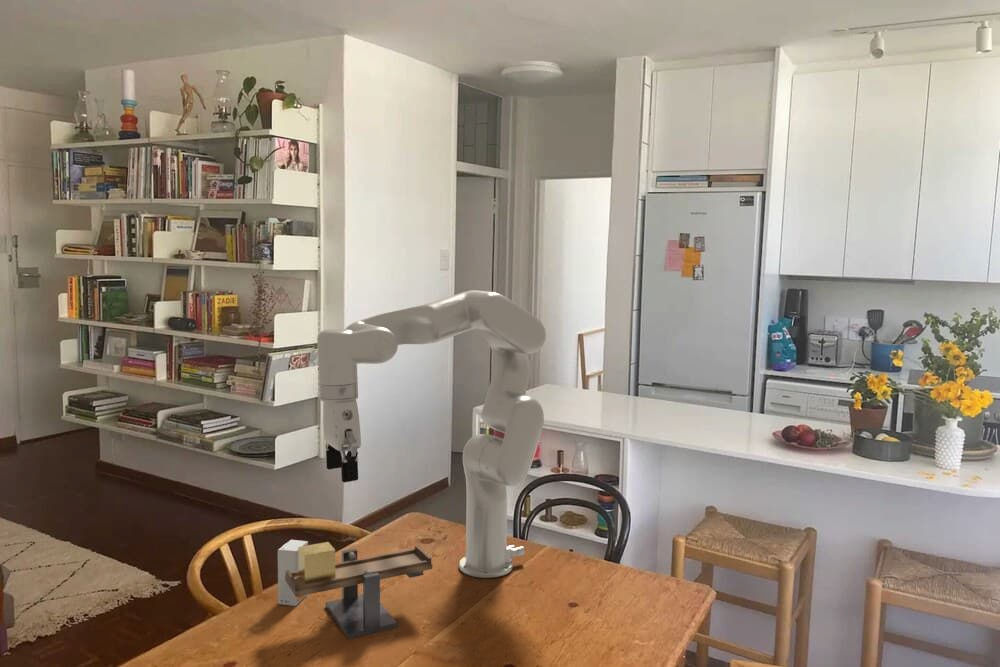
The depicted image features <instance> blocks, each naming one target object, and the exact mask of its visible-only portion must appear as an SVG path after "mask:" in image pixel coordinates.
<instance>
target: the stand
mask: <svg viewBox="0 0 1000 667" xmlns="http://www.w3.org/2000/svg"><path fill="white" fill-rule="evenodd" d="M350 552H353V553H354V554H355V555H356V559H355V560H358V549H357V548H352V549H351V548H350V549H346V550H341V563H342V562H347V561H353V560H351V559H350V558H349V556H348V555H349V553H350ZM358 585H359V584H357V585H352V586H347V587H342V588H341V595H342V598H341V599H335V600H330V601H326V602H325V608H326V610H327V611H328V612H329V614H330V615H331V617H332V619H334V621H335V623H336V624H337V625H338V627H339V628H340V630H341V631H342V633H343V634H344V635H345V637H346V639H348V640H350V639H354V638H358V637H364V636H366V635H371V634H374V633H380V632H383V631H387V630H392V629H397V628H398V622H397V620H396V619H395V618H394V617H393V616H392V615H391V613H390V612H389V611H388V610H387V609H386V608H385V606H384V605H383V604H382V603H381V580H380V574H379V573H373V574H368V575H363V583H362V594H359V591H358V590H359V589H358V588H359V587H358Z"/></svg>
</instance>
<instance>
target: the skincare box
mask: <svg viewBox="0 0 1000 667" xmlns="http://www.w3.org/2000/svg"><path fill="white" fill-rule="evenodd" d="M307 545H309V541H308V540H306V541H305V540H297V539H290V540H289V541H287V542H286V543H284V544H283V545H282V546H281V547H280V548H278V549H277V603H278V605H283V606H284V605H285V606H291V607H296V606H298V605H299V603H301V602H302V600H304V599H305V598H306V597H307V596H308V595H303V596H299V597H295V595H294V593H293V592H292V590H291V589H290V587H289V585H288V584H287V582H286V581H285V575H286V570H289V571H290V572H295V571H299V562H298V547H302V546H307Z"/></svg>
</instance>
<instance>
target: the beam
mask: <svg viewBox="0 0 1000 667" xmlns="http://www.w3.org/2000/svg"><path fill="white" fill-rule="evenodd" d="M348 556H349V558H350V559H351V560H353V561H347V562H342V561H341V562H338V563H335V576H336V578H335V579H330V580H325V581H320V582H315V583H310V584H305V585H304V583H303V582H302V580H301V579H300V578H299V571H295V572H290V571H289V570H286V575H285V581H286V582H287V584H288V585H289V587H290V589H291V590H292V592H293V593H294V595H295V597H299V596H303V595H307V596H308V595H312V594H317V593H323V592H327V591H332V590H336V589H342V587H347V586H352V585H357V584H358V585H361V584H362V585H363V575H368V574H373V573H379V574H380V581H381V580H385V579H390V578H395V577H399V576H404V575H406V576H407V577H408V578H410V579H412V578H417V577H421V576H424V571H429V570H432V569H433V563H432V556H430V555H429V554H428V553H427V552H426V551H424V549H422V548H421V547H420V546H419V545H418V544H417V545H415V546H414V548H412V549H411V548H410V549H406V550H401V551H400V550H399V551H395V552H390V553H385V554H379V555H374V556H370V557H365V558H359V559H358V558H357V560H355V559H356V555H355V554H354V553H353V552H350V553H349V555H348Z"/></svg>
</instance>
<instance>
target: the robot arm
mask: <svg viewBox="0 0 1000 667" xmlns="http://www.w3.org/2000/svg"><path fill="white" fill-rule="evenodd" d="M472 330H482V331H483V335H484V338H485V340H486V342H487V344H488V346H489V347H490V350H491V353H492V354H493V358H494V369H493V373H492V376H491V380H490V384H489V387H488V390H487V394H486V397H485V400H484V403H483V406H482V410H481V411H482V412H481V417H482V418H481V419H482V422H483V423H484V424H485V426H487V428H490V429H492V430H494V431H497V432H500V433H503V434H504V436H503V438H502V437H498V436H495V435H493V434H489V433H488V434H487V433H479V434H476V435H474V436H472V437H471V438H469V439H468V441H467V442H466V443H465V445H464V447H463V450H462V465H463V472H464V475H465V485H466V486H465V487H466V488H465V489H466V490H465V491H466V501H465V502H466V504H465V505H466V510H465V512H466V513H465V518H466V519H465V556H463V557H462V558H461V559H460V560H459V564H458V566H459V570H460V571H461V572H462V573H463V574H466V575H467V576H470V577H475V578H483V579H493V578H498V577H501V576H502V577H503V576H505V575H507V574H509V573H510V572H512V570H513V569H514V563H513V560H512V559H514V558H515V557H516V556H517V557H518V556H523V555H525V553H526V550H525V547H524V546H517V547H515V545H514V544H512V545H507V543H508V542H507V540H508V539H507V538H508V537H507V536H508V529H507V528H508V489H507V486H508V487H514V486H518V485H519V484H521V483H523V482H524V481H525V479H526V478H527V476H528V474H529V472H530V470H531V467H532V464H533V462H534V458H535V455H536V451H537V449H538V445H539V442H540V439H541V435H542V432H543V427H544V421H545V416H544V414H545V413H544V410H543V407H542V405H541V404H540V402H539V401H538V400H537V399H536V398H534V397H531V396H528V395H526V393H527V390H528V386H529V382H530V377H531V363H530V359H529V356H528V355H530V354H534V353H537V352H539V351H540V350H541V348H542V347H543V346H544V344H545V341H546V336H547V335H546V334H547V333H546V328H545V326H544V324H543V323H542V321H541V320H539V318H538V317H536V316H535V315H534V314H532V313H531V312H529V311H527V310H526V309H525V308H523V307H522V306H520V305H518V304H517V303H516V302H514V301H513V300H511V299H510V298H508V297H506V296H504V295H503V294H501V293H498V292H495V291H483V290H473V289H472V290H468V291H463V292H462V291H461V292H460V293H457V294H454V295H451V296H448V297H444V298H441V299H438V300H435V301H431V302H430V303H429V302H428V303H425V304H422V305H417V306H411V307H407V308H404V309H400V310H394V311H390V312H385V313H384V312H383V313H380V314H377V315H374V316H369V317H367V318H364V319H361V320H359V321H358V320H357V321H354V322H352V323H351V324H349V325H348V326H346V327H345V328H331V329H330V328H329V329H324V330H322V331H320V332H319V333H318V335H317V340H316V341H317V360H318V361H317V363H318V364H317V365H318V382H319V383H318V388H319V389H318V390H319V401H321V402H323V409H322V410H323V411H322V412H323V413H322V414H323V419H322V420H323V421H322V422H323V437H324V440H325V449H326V450H325V457H326V458H325V461H326V462H325V463H326V469H327V470H334V469H340V470H341V472H340V473H341V482H342V483H350V482H356V481H358V480H359V464H358V463H359V456H358V455H359V451H358V449H359V448H361V447H362V435H361V424H360V423H361V422H360V414H359V408H358V402H357V399H358V398H359V388H358V387H359V384H358V380H359V379H358V365H359V364H364V365H365V364H367V365H368V364H371V365H378V364H385V363H387V362H389V361H390V360H392V359H393V358H394V357H395V356H396V354H397V351H398V347H399V346H401V345H403V346H404V345H428V344H429V345H430V344H435V343H438V342H442V341H444V340H447V339H450V338H452V337H455V336H458V335H460V334H464V333H466V332H469V331H472ZM346 452H347V453H346Z"/></svg>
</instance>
